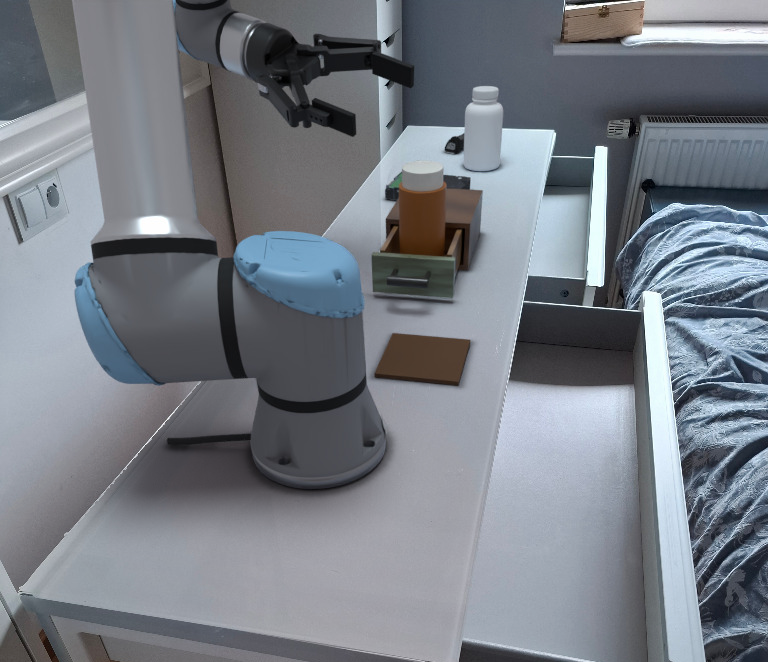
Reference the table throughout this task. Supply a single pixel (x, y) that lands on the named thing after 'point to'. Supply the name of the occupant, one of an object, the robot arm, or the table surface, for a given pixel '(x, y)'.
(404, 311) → the table surface
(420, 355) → the mat
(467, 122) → the pill bottle
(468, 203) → the cabinet
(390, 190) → the disk drive
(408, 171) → the pill bottle
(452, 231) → the drawer
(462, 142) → the electric trimmer
